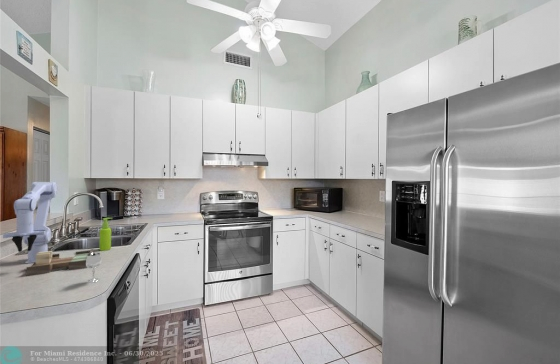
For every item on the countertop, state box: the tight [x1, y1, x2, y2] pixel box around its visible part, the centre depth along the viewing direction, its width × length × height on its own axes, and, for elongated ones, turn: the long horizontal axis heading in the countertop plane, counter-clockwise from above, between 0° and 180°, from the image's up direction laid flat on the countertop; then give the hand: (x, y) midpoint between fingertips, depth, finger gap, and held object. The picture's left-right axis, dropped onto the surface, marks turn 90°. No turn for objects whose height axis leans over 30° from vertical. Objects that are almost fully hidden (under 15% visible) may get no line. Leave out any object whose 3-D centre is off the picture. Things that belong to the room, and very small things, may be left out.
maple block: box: [36, 250, 53, 265], centre depth 123 cm, size 5×5×5 cm
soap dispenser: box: [99, 217, 113, 252], centre depth 155 cm, size 6×7×20 cm
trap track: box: [25, 248, 95, 277], centre depth 127 cm, size 19×23×4 cm
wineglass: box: [86, 252, 103, 284], centre depth 110 cm, size 6×6×12 cm
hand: (24, 250), depth 119 cm, fingers open, 3 cm apart
